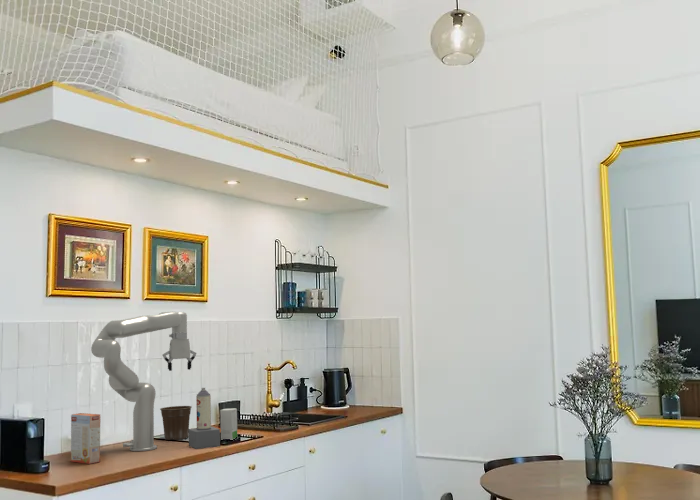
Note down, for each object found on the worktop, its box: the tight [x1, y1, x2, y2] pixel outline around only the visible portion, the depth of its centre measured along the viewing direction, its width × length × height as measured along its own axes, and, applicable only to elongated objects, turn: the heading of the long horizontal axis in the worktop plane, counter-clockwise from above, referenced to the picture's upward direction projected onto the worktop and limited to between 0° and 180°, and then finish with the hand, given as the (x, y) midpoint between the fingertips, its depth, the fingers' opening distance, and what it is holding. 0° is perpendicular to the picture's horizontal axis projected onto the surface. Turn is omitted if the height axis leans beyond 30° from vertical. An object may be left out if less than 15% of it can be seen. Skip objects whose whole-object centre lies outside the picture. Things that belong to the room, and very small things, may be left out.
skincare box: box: [219, 407, 238, 441], centre depth 364 cm, size 8×7×16 cm
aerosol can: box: [195, 387, 212, 430], centre depth 349 cm, size 7×7×20 cm
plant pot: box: [159, 405, 192, 441], centre depth 374 cm, size 16×16×16 cm
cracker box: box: [70, 412, 101, 465], centre depth 315 cm, size 14×6×21 cm, turn 54°
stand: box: [188, 426, 221, 450], centre depth 347 cm, size 12×12×8 cm
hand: (179, 370), depth 363 cm, fingers open, 9 cm apart
